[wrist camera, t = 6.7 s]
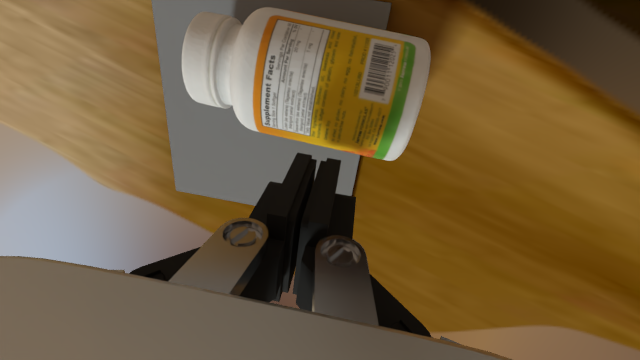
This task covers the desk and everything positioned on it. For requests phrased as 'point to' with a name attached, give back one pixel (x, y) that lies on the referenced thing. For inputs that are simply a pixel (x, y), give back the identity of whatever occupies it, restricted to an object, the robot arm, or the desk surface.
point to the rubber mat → (222, 124)
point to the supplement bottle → (310, 78)
